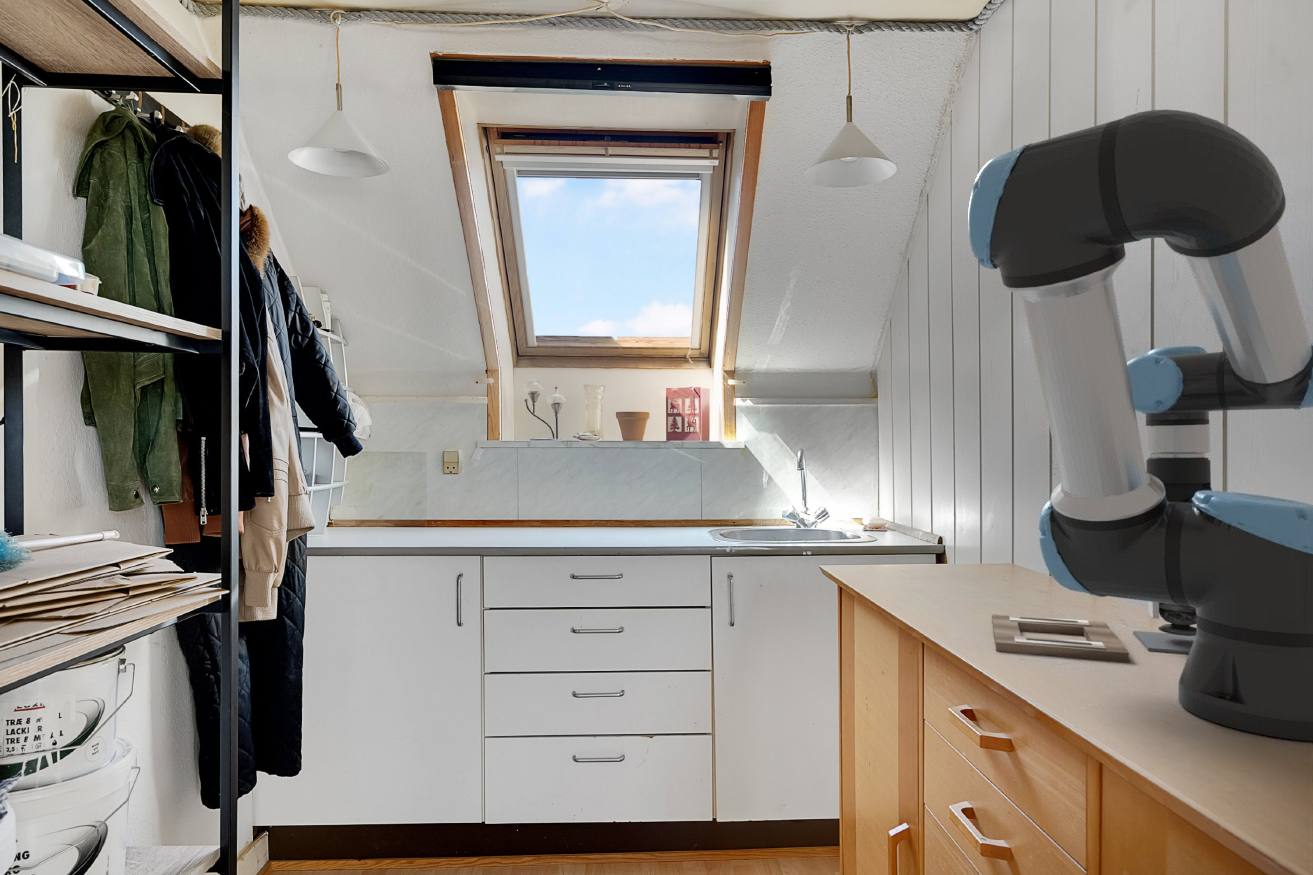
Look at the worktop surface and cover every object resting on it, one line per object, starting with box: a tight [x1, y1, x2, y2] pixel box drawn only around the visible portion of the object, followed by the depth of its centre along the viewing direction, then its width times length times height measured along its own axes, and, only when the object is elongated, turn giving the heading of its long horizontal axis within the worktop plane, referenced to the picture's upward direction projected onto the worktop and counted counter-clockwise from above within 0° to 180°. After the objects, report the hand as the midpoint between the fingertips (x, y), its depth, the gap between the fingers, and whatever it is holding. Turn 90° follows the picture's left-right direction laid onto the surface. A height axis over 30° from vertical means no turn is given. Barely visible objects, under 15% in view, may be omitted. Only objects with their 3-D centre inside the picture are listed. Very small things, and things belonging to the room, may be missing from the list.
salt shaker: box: [1158, 603, 1197, 636], centre depth 106 cm, size 6×6×12 cm
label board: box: [991, 614, 1130, 663], centre depth 110 cm, size 18×16×2 cm
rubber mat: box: [1132, 630, 1196, 655], centre depth 106 cm, size 10×10×1 cm
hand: (1180, 617), depth 106 cm, fingers closed on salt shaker, 6 cm apart
